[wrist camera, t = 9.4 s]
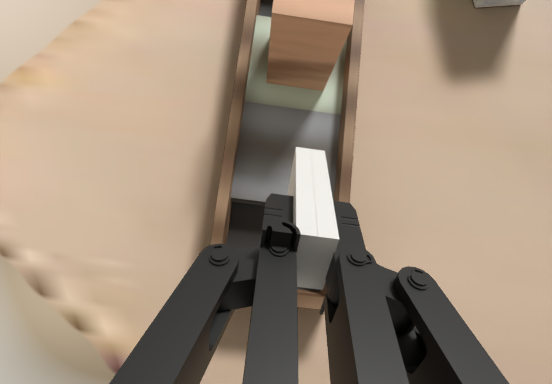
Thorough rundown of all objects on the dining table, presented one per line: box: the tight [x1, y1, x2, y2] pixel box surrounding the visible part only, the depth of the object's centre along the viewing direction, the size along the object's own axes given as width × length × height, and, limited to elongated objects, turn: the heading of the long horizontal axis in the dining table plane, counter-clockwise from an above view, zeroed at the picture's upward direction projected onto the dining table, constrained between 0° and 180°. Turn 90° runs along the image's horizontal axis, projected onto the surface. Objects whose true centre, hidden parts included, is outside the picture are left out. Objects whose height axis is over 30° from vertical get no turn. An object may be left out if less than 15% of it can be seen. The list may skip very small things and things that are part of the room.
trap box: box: [210, 0, 364, 309], centre depth 33 cm, size 38×12×5 cm, turn 173°
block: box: [266, 0, 355, 91], centre depth 29 cm, size 6×6×10 cm
